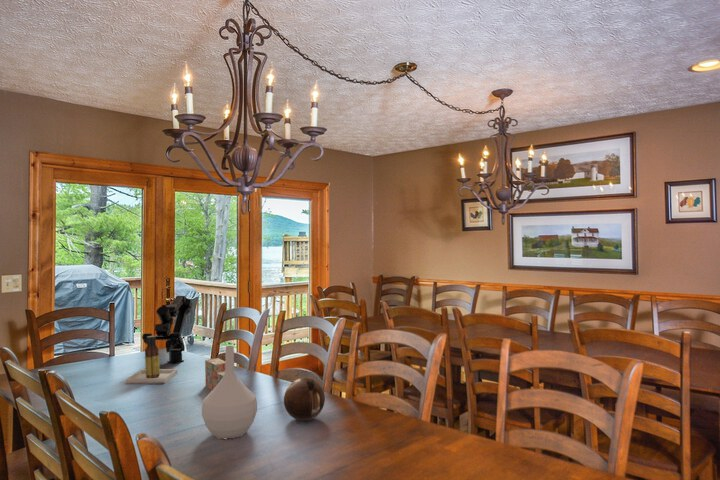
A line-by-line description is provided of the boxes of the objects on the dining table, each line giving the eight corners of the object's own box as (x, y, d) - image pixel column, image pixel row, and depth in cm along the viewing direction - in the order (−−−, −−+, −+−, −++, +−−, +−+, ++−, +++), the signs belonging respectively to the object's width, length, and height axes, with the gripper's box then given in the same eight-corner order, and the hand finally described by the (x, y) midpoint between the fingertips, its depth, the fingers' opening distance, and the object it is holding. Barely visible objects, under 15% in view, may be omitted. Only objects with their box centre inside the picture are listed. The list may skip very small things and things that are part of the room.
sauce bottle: (160, 374, 245) (160, 334, 245) (159, 378, 239) (158, 336, 239) (145, 376, 243) (145, 335, 243) (144, 379, 237) (144, 337, 237)
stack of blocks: (236, 395, 213) (236, 366, 214) (222, 397, 210) (222, 368, 210) (218, 384, 231) (218, 357, 231) (205, 386, 227) (205, 359, 227)
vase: (235, 420, 182) (235, 339, 182) (268, 432, 170) (268, 345, 170) (190, 435, 168) (190, 347, 168) (223, 449, 156) (222, 354, 156)
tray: (141, 373, 249) (141, 369, 249) (177, 373, 250) (177, 368, 250) (125, 383, 231) (125, 379, 231) (165, 383, 232) (165, 378, 232)
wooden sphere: (280, 415, 187) (280, 375, 187) (318, 410, 192) (318, 371, 192) (288, 429, 173) (288, 386, 173) (329, 423, 178) (329, 381, 178)
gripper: (143, 317, 253) (134, 343, 242) (180, 317, 254) (173, 343, 243) (149, 330, 261) (141, 356, 250) (185, 329, 262) (178, 355, 251)
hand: (158, 352), depth 248 cm, fingers open, 9 cm apart
